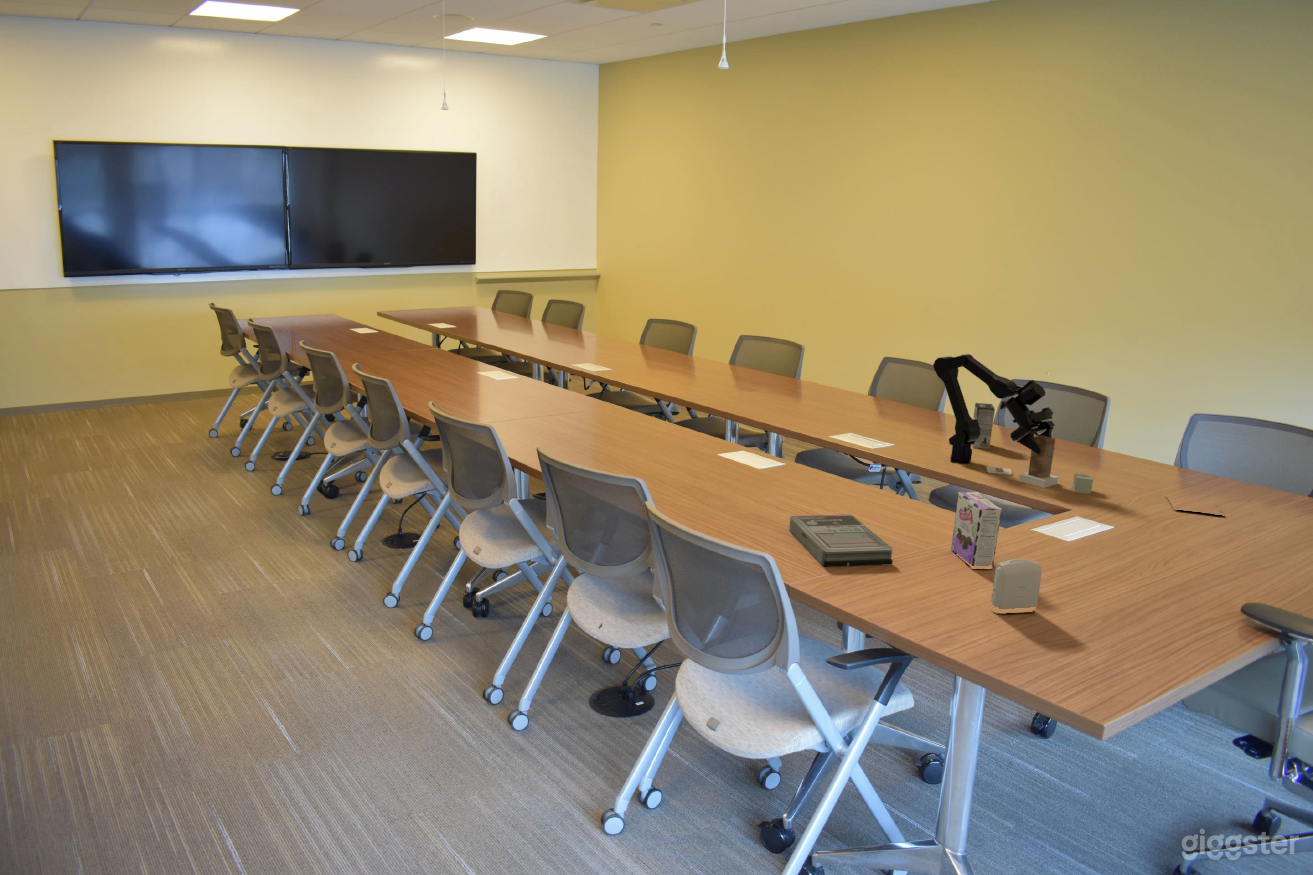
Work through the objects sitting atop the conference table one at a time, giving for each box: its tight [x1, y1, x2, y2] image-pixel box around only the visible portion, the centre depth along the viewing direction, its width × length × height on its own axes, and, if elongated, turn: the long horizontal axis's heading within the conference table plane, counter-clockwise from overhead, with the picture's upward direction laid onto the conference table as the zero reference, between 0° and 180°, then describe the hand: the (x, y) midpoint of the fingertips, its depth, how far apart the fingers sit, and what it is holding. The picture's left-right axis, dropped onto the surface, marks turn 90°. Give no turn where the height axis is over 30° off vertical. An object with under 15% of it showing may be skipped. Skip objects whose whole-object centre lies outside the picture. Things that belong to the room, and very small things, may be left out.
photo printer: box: [990, 558, 1042, 609], centre depth 206 cm, size 10×4×12 cm, turn 100°
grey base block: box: [1018, 471, 1059, 489], centre depth 311 cm, size 9×9×3 cm
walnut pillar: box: [1027, 435, 1056, 478], centre depth 309 cm, size 5×5×13 cm
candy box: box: [950, 491, 1002, 566], centre depth 236 cm, size 14×6×16 cm, turn 5°
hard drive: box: [788, 514, 893, 568], centre depth 243 cm, size 18×27×4 cm
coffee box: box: [971, 402, 996, 450], centre depth 356 cm, size 9×6×16 cm
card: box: [986, 466, 1013, 476], centre depth 322 cm, size 8×6×1 cm
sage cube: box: [1071, 473, 1094, 495], centre depth 302 cm, size 5×5×5 cm
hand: (1046, 451), depth 307 cm, fingers open, 8 cm apart
